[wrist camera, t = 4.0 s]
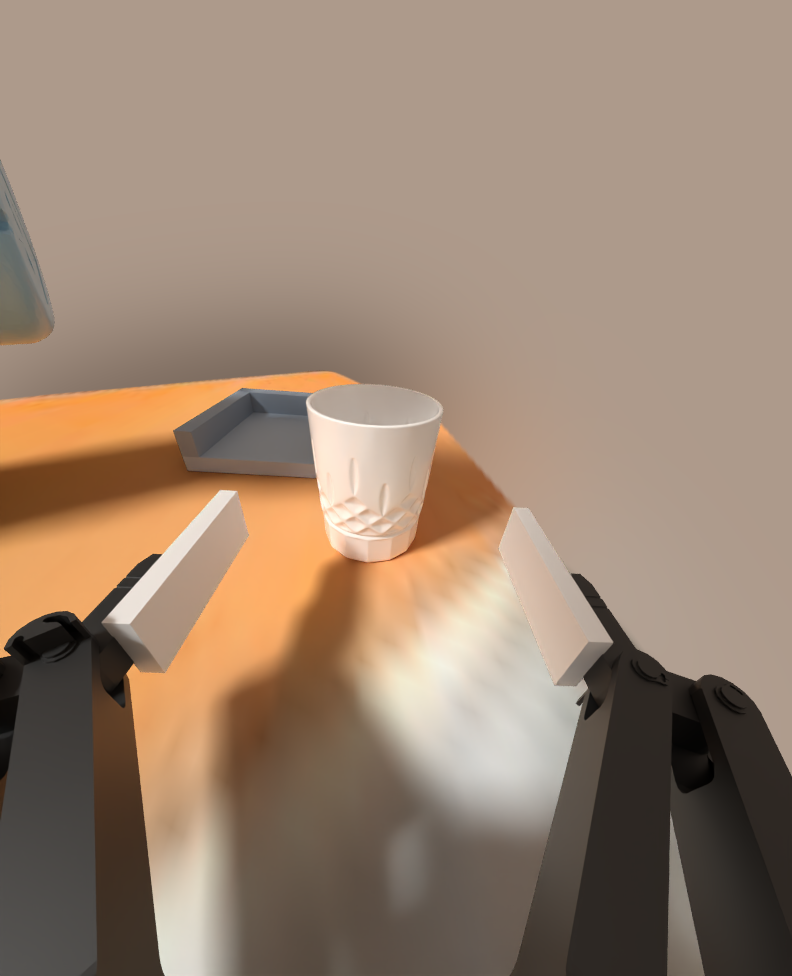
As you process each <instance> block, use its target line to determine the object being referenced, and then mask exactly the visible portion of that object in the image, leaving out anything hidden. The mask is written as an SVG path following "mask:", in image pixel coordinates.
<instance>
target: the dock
mask: <svg viewBox="0 0 792 976" xmlns="http://www.w3.org/2000/svg"><path fill="white" fill-rule="evenodd" d="M311 394H313V393H303V392H289V391H275V390H261V389H246V388H242V389H240V390H238V391H237V392H235V393H234V394H232V395H230V396H229V397H227V398H225V399H224V400H222V401H221V402H219V403H217V404H216V405H214V406H212V407H211V408H209V409H208V410H206V411H204V412H203V413H201V414H199V415H198V416H196V417H195V418H193V419H191V420H190V421H188V422H186V423H185V424H183V425H182V426H180V427H178V428H177V429H175V430H173V432H174V435H175V437H176V440H177V443H178V446H179V449H180V451H181V454H182V457H183V460H184V462H185V465H186V468H187V471H201V472H219V473H236V474H253V475H271V476H288V477H305V478H317V477H316V472H315V465H314V457H313V450H312V443H311V435H310V428H309V421H308V414H307V407H306V400H307V398H308V397H309V396H310V395H311Z"/></svg>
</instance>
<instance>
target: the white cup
mask: <svg viewBox="0 0 792 976" xmlns="http://www.w3.org/2000/svg"><path fill="white" fill-rule="evenodd" d="M306 407H307V414H308V421H309V428H310V435H311V443H312V450H313V457H314V465H315V472H316V477H317V483H318V488H319V496H320V502H321V507H322V511H323V513H324V521H325V529H326V534H327V536H328V539H329V541H330V544H331V546H332V547H333V548H334V549H335V550H337V551H338V552H340V553H341V554H342V555H344V556H345V557H347V558H350V559H355V560H359V561H363V562H377V561H385V560H390V559H392V558H394V557H396V556H398V555H400V554H402V553H403V552H405V551H407V549H408V548H409V546H410V545H411V543H412V541H413V540H414V538H415V535H416V530H417V525H418V519H419V514H420V512H421V509H422V506H423V503H424V498H425V492H426V488H427V485H428V481H429V476H430V471H431V467H432V462H433V457H434V452H435V447H436V442H437V437H438V433H439V428H440V423H441V419H442V414H443V407H442V406H441V404H440V403H439V402H438V401H437V400H435V399H434V398H432V397H430V396H428V395H426V394H423V393H420V392H417V391H414V390H410V389H406V388H401V387H394V386H386V385H376V384H375V385H374V384H350V385H340V386H334V387H329V388H325V389H322V390H319V391H316V392H314V393H313V394H311V395H310V396H309V397H308V398H307V400H306Z"/></svg>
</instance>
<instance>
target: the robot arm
mask: <svg viewBox="0 0 792 976" xmlns="http://www.w3.org/2000/svg"><path fill="white" fill-rule="evenodd" d="M53 328H54V315H53V311H52V306H51V302H50V298H49V294H48V291H47V288H46V284H45V282H44V278H43V275H42V272H41V269H40V266H39V263H38V260H37V256H36V254H35V251H34V248H33V245H32V242H31V239H30V236H29V233H28V231H27V228H26V225H25V223H24V220H23V217H22V215H21V212H20V209H19V206H18V204H17V201H16V198H15V196H14V193H13V190H12V188H11V185H10V183H9V180H8V178H7V175H6V173H5V170H4V168H3V165H2V163H1V160H0V345H14V344H30V343H36V342H39V341H41V340H42V339H45V338H47V337H48V336H49V335H50V333H51V332H52V331H53ZM248 536H249V534H248V530H247V526H246V523H245V519H244V515H243V511H242V508H241V504H240V500H239V496H238V492H237V491H228V490H220V491H219V492H218V493H217V494H216V495H215V497H214V498H213V499H212V500H211V501H210V502H209V503H208V504H207V505H206V507H205V508H204V509H203V510H202V511H201V512H200V513H199V514H198V515H197V517H196V518H195V519H194V520H193V521H192V522H191V523H190V524H189V525H188V527H187V528H186V529H185V530H184V531H183V532H182V533H181V534H180V536H179V537H178V538H177V539H176V540H175V541H174V542H173V543H172V544H171V546H170V547H169V548H168V549H167V550H166V551H165V552H164V553H163V554H152V555H151V556H149V557H148V558H146V559H145V560H143V561H142V562H140V563H138V564H137V565H136V566H135V567H134V568H133V569H132V570H131V572H130V573H129V574H128V575H127V577H126V578H124V579H123V580H122V581H121V582H120V583H119V584H118V585H117V588H114V589H113V590H112V591H111V592H110V593H109V595H108V596H107V597H106V598H105V599H104V600H103V601H102V602H101V603H100V604H99V605H98V606H97V607H96V608H95V609H94V610H93V611H92V612H91V613H90V614H89V615H88V616H87V617H86V619H85V620H84V621H83V622H81V621H80V620H79V619H78V618H77V617H76V616H75V614H73V613H71V612H68V611H62V612H54V613H51V614H47V615H44V616H42V617H40V618H38V619H35V620H33V621H31V622H29V623H28V624H27V625H25V626H24V627H22V628H21V629H19V630H18V631H17V632H16V633H15V634H14V635H13V636H12V637H11V638H10V639H9V640H8V642H7V643H6V645H5V647H4V650H5V651H7V652H8V653H9V654H10V655H11V656H7V657H3V658H0V976H165V975H164V973H163V971H162V967H161V964H160V957H159V949H158V940H157V931H156V922H155V913H154V904H153V894H152V885H151V876H150V867H149V858H148V849H147V840H146V830H145V821H144V812H143V803H142V794H141V785H140V775H139V766H138V757H137V748H136V739H135V730H134V721H133V711H132V702H131V693H130V684H129V679H128V677H127V674H126V673H127V672H128V670H129V669H130V667H131V666H132V665H133V663H134V664H135V666H136V667H137V668H138V669H139V670H140V672H151V673H165V672H166V671H167V669H168V667H169V666H170V664H171V662H172V661H173V659H174V657H175V656H176V654H177V652H178V651H179V649H180V648H181V646H182V644H183V643H184V641H185V639H186V638H187V636H188V634H189V633H190V631H191V629H192V628H193V626H194V625H195V623H196V621H197V620H198V618H199V616H200V615H201V613H202V611H203V610H204V608H205V606H206V605H207V603H208V602H209V600H210V598H211V597H212V595H213V593H214V592H215V590H216V588H217V587H218V585H219V584H220V582H221V580H222V579H223V577H224V575H225V574H226V572H227V570H228V569H229V567H230V565H231V564H232V562H233V561H234V559H235V557H236V556H237V554H238V552H239V551H240V549H241V547H242V546H243V544H244V542H245V541H246V539H247V538H248ZM498 549H499V551H500V553H501V556H502V558H503V561H504V563H505V566H506V568H507V571H508V573H509V576H510V578H511V580H512V583H513V585H514V588H515V590H516V593H517V595H518V598H519V600H520V602H521V605H522V607H523V610H524V612H525V615H526V617H527V620H528V622H529V624H530V627H531V629H532V632H533V634H534V637H535V639H536V642H537V644H538V646H539V649H540V651H541V654H542V656H543V659H544V661H545V664H546V666H547V668H548V671H549V673H550V676H551V678H552V681H553V683H554V686H577V684H578V683H579V682H580V681H581V680H582V679H583V678H584V680H585V682H586V684H587V686H588V688H589V689H588V690H587V691H586V692H585V693H584V694H583V695H582V696H581V697H580V698H579V700H578V701H577V703H576V704H577V705H579V706H580V705H581V704H582V703H583V704H582V708H581V712H580V716H579V720H578V724H577V728H576V732H575V736H574V740H573V744H572V747H571V751H570V755H569V759H568V763H567V767H566V771H565V775H564V779H563V783H562V787H561V791H560V795H559V799H558V802H557V806H556V810H555V814H554V818H553V822H552V826H551V830H550V834H549V838H548V842H547V846H546V850H545V854H544V857H543V861H542V865H541V869H540V873H539V877H538V881H537V885H536V889H535V893H534V897H533V901H532V905H531V909H530V912H529V916H528V920H527V924H526V928H525V932H524V936H523V940H522V944H521V948H520V952H519V955H518V959H517V962H516V964H515V967H514V969H513V971H512V973H511V974H510V976H667V947H668V897H669V848H670V811H671V815H672V820H673V825H674V830H675V834H676V839H677V844H678V849H679V854H680V858H681V863H682V868H683V873H684V877H685V882H686V887H687V892H688V897H689V901H690V906H691V911H692V916H693V920H694V925H695V930H696V935H697V940H698V944H699V949H700V954H701V959H702V964H703V968H704V973H705V976H792V776H791V774H790V772H789V770H788V768H787V766H786V764H785V762H784V759H783V757H782V756H781V753H780V751H779V749H778V747H777V745H776V743H775V741H774V739H773V737H772V735H771V733H770V731H769V729H768V727H767V724H766V722H765V720H764V718H763V716H762V714H761V712H760V711H759V709H758V708H757V706H756V705H755V703H754V702H753V701H752V700H751V699H750V698H749V697H748V696H747V695H746V693H745V692H743V691H742V690H741V689H739V688H738V687H737V686H735V685H734V684H733V683H731V682H729V681H727V680H725V679H723V678H722V677H718V676H715V675H704V676H703V677H701V678H700V679H699V680H697V681H694V680H691V679H688V678H685V677H682V676H679V675H676V674H673V673H671V672H668V671H666V670H665V669H664V668H663V667H662V666H661V665H660V664H659V662H658V661H656V660H655V659H654V658H652V657H651V656H649V655H648V654H646V653H644V652H641V651H639V650H637V649H636V648H635V647H634V645H633V644H632V642H631V641H630V640H629V638H628V637H627V635H626V634H625V632H624V631H623V629H622V628H621V626H620V625H619V623H618V622H617V620H616V619H615V618H614V616H613V615H612V613H611V612H610V610H609V609H607V606H606V604H605V603H604V601H603V600H602V599H600V596H599V594H598V593H597V591H596V590H595V588H594V587H593V585H592V584H591V583H590V582H588V581H587V580H586V579H585V578H584V577H583V576H582V575H581V574H570V573H569V571H568V570H567V568H566V566H565V565H564V563H563V562H562V560H561V558H560V557H559V555H558V554H557V552H556V551H555V549H554V547H553V546H552V544H551V543H550V541H549V539H548V538H547V536H546V535H545V533H544V531H543V530H542V528H541V527H540V525H539V524H538V522H537V520H536V519H535V517H534V516H533V514H532V512H531V511H530V509H529V508H519V507H513V509H512V512H511V515H510V518H509V520H508V523H507V526H506V529H505V531H504V534H503V537H502V540H501V542H500V545H499V548H498Z"/></svg>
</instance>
